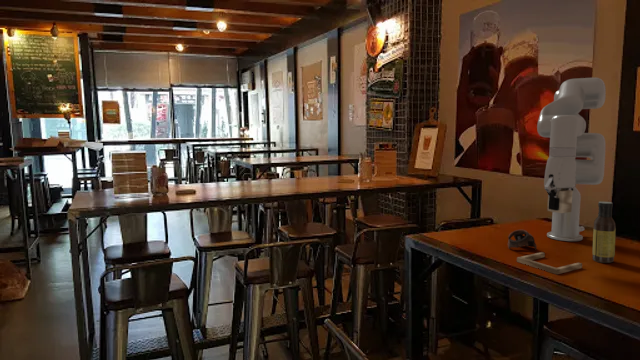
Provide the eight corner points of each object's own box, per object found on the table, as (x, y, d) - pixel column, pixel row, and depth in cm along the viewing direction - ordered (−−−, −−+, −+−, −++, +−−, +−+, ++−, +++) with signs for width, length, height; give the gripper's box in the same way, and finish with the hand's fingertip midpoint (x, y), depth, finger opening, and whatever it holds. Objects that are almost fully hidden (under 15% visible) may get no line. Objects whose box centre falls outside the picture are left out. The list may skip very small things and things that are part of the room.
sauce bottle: (618, 262, 146) (623, 203, 143) (602, 264, 144) (607, 204, 142) (602, 257, 152) (606, 200, 149) (586, 258, 150) (590, 201, 148)
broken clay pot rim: (543, 253, 158) (535, 236, 156) (517, 264, 160) (509, 246, 158) (529, 237, 170) (522, 220, 167) (506, 247, 172) (498, 230, 169)
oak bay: (541, 256, 154) (541, 252, 154) (582, 268, 141) (582, 263, 141) (516, 261, 148) (517, 257, 148) (556, 274, 135) (556, 269, 135)
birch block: (556, 209, 148) (558, 188, 147) (571, 211, 143) (572, 190, 143) (547, 210, 145) (548, 189, 145) (561, 213, 141) (562, 191, 140)
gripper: (567, 152, 150) (564, 205, 152) (534, 153, 142) (531, 209, 144) (589, 153, 143) (586, 208, 145) (556, 154, 135) (553, 213, 137)
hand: (559, 208), depth 144 cm, fingers closed on birch block, 5 cm apart
